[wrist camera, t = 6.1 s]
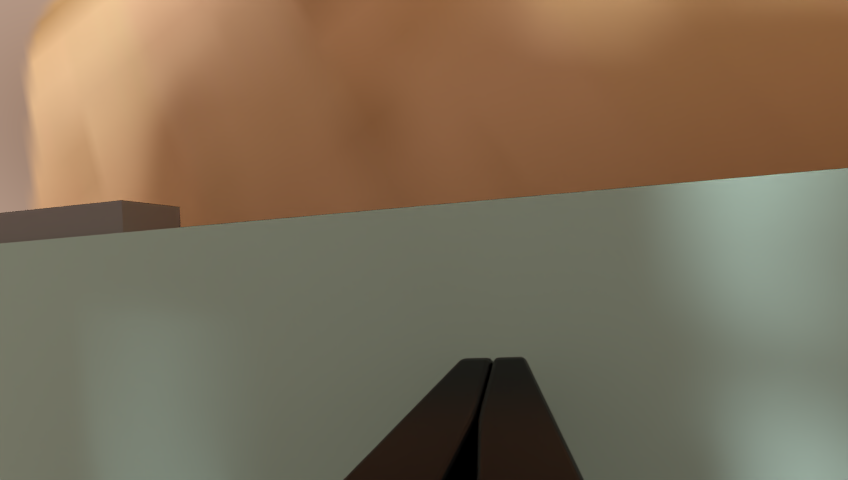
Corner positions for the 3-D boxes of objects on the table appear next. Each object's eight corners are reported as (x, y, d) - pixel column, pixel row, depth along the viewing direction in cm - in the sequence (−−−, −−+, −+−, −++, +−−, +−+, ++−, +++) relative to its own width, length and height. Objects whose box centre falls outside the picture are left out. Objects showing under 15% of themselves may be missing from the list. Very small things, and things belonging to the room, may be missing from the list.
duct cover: (1475, 825, 8) (1767, 1015, 6) (7, 655, 13) (-90, 721, 12) (1382, 88, 8) (1629, 36, 6) (-9, 225, 14) (-107, 221, 12)
